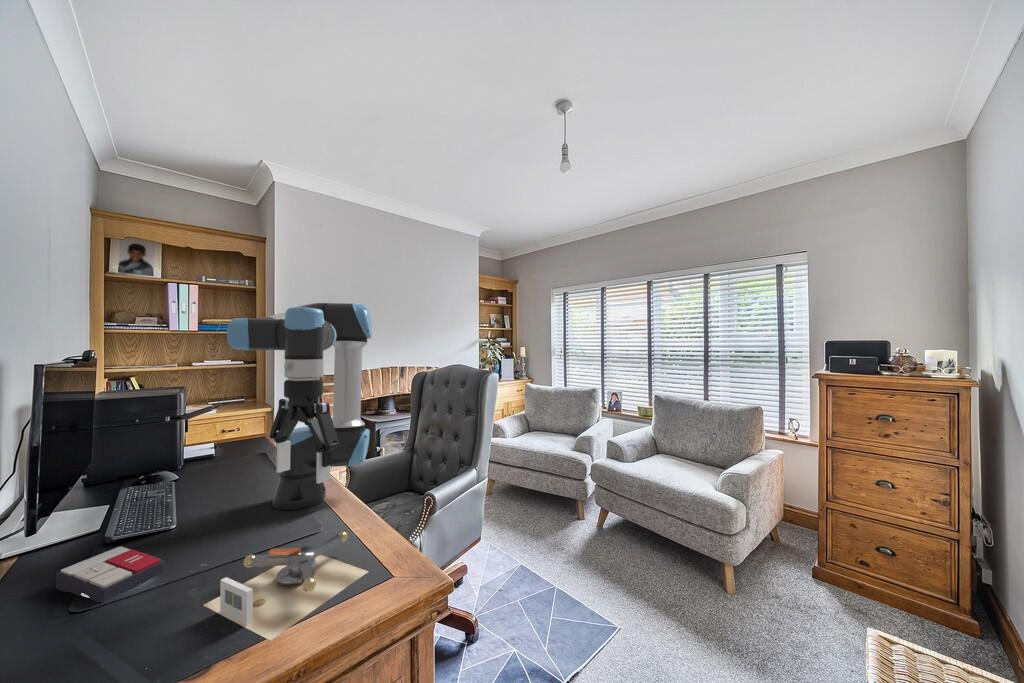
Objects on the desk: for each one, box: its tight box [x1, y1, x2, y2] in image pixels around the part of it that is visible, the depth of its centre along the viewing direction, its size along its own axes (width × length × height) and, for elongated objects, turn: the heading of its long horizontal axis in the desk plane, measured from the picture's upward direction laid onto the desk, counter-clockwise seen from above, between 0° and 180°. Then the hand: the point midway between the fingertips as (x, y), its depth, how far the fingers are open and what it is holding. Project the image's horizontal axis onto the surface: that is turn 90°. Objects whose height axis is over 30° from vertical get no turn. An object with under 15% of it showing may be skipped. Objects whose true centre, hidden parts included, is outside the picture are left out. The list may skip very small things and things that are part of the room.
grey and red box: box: [55, 546, 165, 603], centre depth 84 cm, size 11×4×15 cm
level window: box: [219, 576, 253, 626], centre depth 71 cm, size 1×8×6 cm, turn 65°
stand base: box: [203, 554, 370, 642], centre depth 80 cm, size 22×20×2 cm
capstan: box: [243, 531, 349, 592], centre depth 86 cm, size 18×21×6 cm
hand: (302, 476), depth 85 cm, fingers open, 13 cm apart
